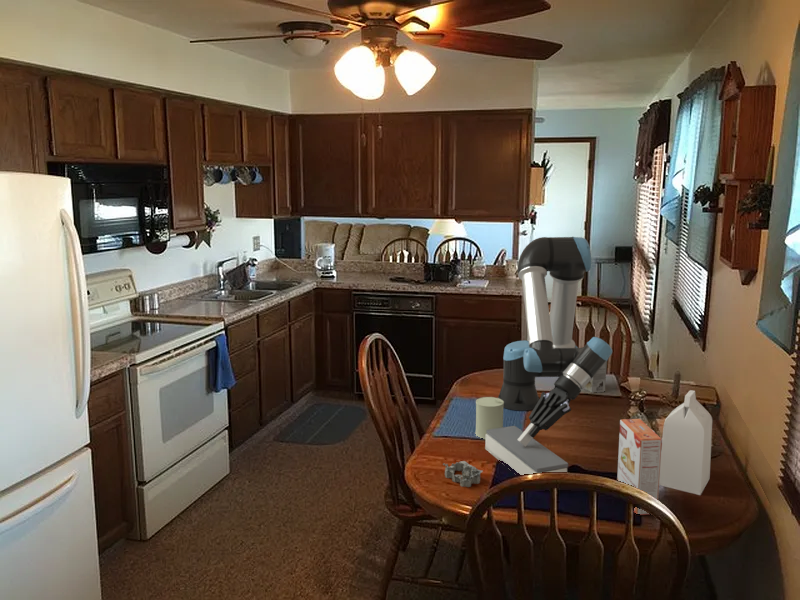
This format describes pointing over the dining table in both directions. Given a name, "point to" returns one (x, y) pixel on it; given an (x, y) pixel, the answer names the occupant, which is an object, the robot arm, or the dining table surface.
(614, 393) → the dining table surface
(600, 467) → the dining table surface
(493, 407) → the can
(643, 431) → the cracker box
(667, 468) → the milk
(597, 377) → the coffee box
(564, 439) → the dining table surface
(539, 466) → the cover
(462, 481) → the grey lumpy piece
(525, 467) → the hinged pencil box
